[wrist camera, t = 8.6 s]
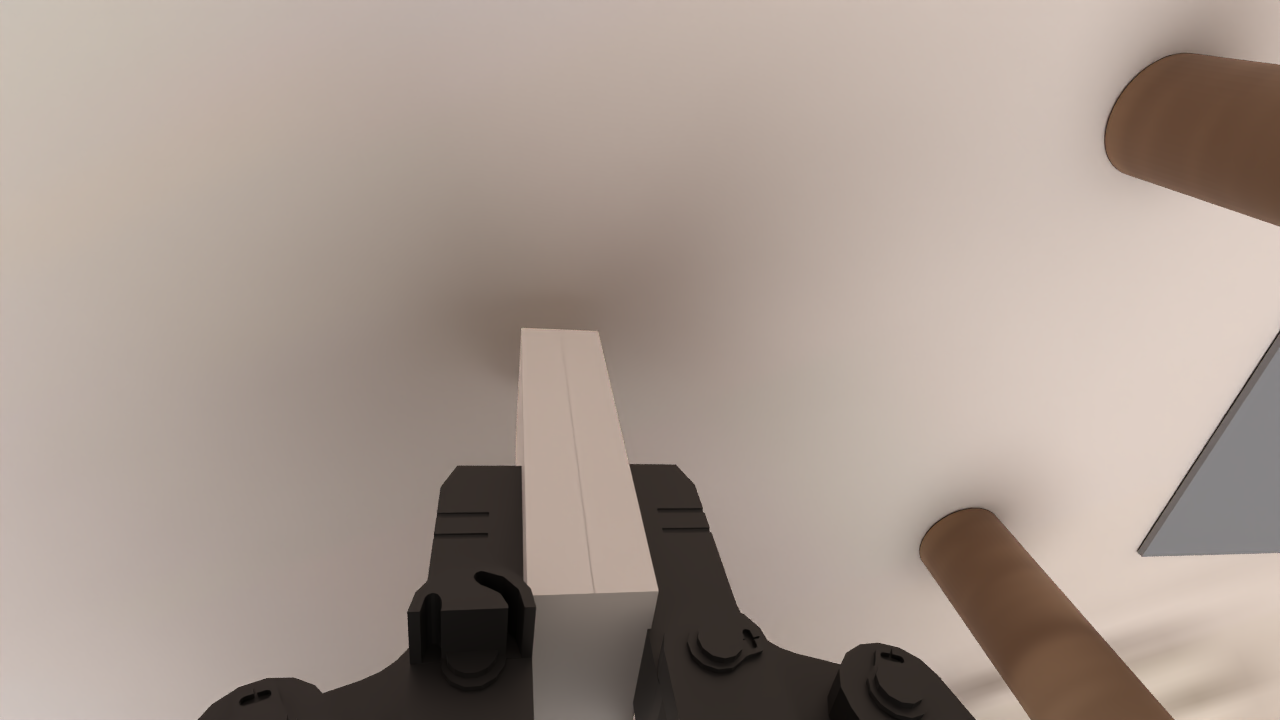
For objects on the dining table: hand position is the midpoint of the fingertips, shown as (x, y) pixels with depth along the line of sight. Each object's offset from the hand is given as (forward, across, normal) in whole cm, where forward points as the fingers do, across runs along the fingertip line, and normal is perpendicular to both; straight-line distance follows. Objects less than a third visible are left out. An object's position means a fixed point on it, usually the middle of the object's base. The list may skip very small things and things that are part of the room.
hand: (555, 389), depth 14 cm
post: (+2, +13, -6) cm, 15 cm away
